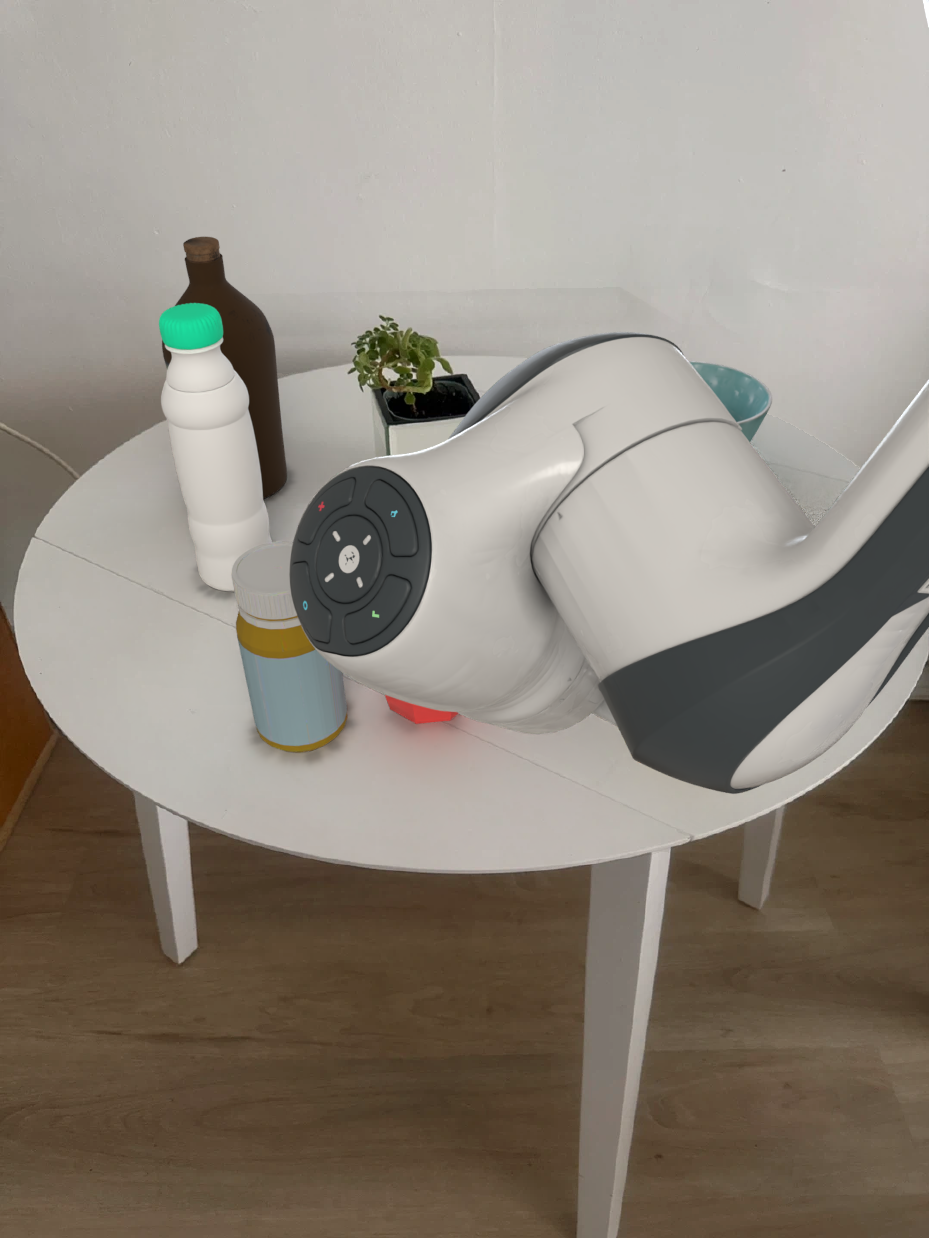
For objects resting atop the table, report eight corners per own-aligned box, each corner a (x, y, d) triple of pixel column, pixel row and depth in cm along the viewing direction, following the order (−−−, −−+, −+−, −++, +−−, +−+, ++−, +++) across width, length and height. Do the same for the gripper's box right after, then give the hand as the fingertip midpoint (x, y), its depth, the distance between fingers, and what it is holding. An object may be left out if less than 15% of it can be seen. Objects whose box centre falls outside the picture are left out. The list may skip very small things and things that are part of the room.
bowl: (583, 445, 111) (588, 375, 106) (701, 415, 116) (711, 348, 111) (663, 513, 99) (672, 440, 94) (789, 477, 105) (805, 406, 99)
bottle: (364, 708, 78) (347, 551, 69) (317, 768, 73) (292, 608, 64) (289, 684, 81) (262, 528, 71) (239, 740, 76) (203, 582, 66)
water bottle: (240, 604, 89) (187, 336, 73) (183, 579, 92) (121, 317, 76) (292, 565, 93) (253, 305, 78) (237, 542, 97) (188, 288, 81)
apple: (464, 747, 75) (463, 667, 70) (364, 728, 76) (356, 649, 71) (491, 678, 81) (491, 600, 76) (398, 662, 82) (392, 584, 77)
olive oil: (269, 447, 111) (234, 216, 96) (309, 489, 104) (278, 247, 89) (177, 474, 107) (125, 236, 91) (212, 519, 100) (162, 270, 84)
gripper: (750, 671, 44) (801, 711, 56) (404, 515, 54) (511, 577, 66) (686, 799, 44) (751, 812, 56) (354, 620, 54) (469, 662, 66)
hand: (619, 683), depth 61 cm, fingers open, 8 cm apart
